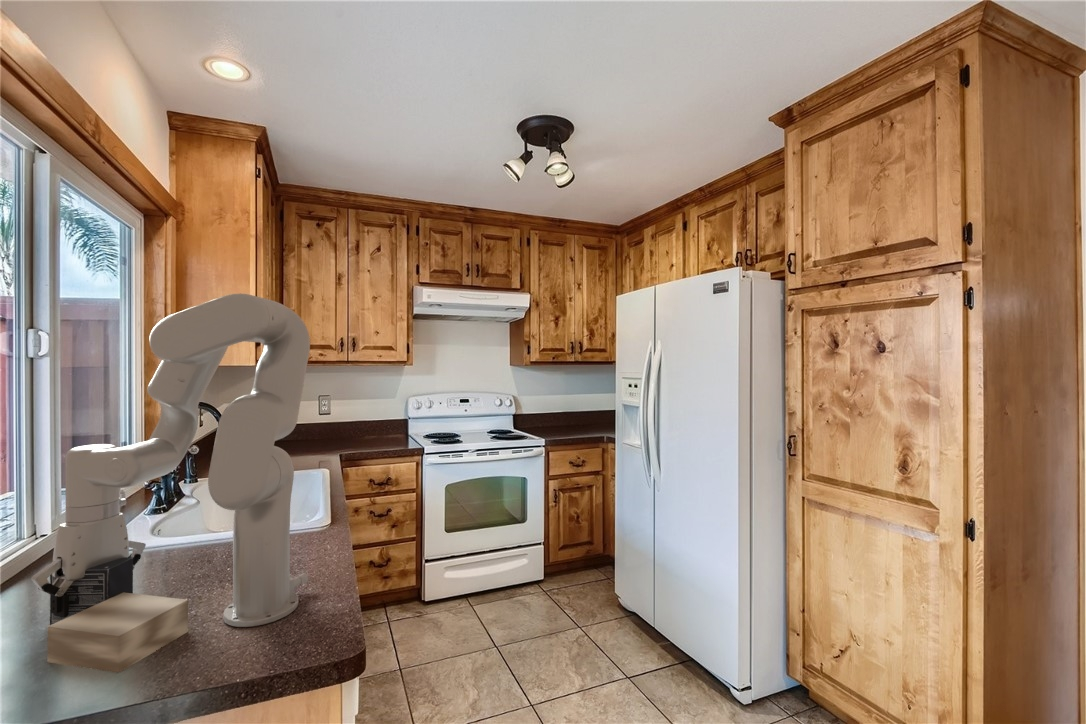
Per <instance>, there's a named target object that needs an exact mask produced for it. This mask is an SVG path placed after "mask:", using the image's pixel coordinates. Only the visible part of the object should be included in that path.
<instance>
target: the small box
mask: <svg viewBox="0 0 1086 724" xmlns="http://www.w3.org/2000/svg"><path fill="white" fill-rule="evenodd" d="M62 571H63V570H62V569H61V568H60V569H58V570H57V574H56V575H60V574H61V572H62ZM56 579H57V578H55V577H53V575H52V574H51V575H50V576H49V580H50V582H49V583H50V584H53V582H54V581H55V580H56ZM123 592H124V593H133V594H134V570H133V557H129V556H128V557H124V558H121V559H117V560H114V561H110V562H107V563H104V564H101V565H98V566H95V567H92V568H89V569H86V570H85V575H84V577H83V578H82V579H79V580H75V581H73V583H72V584H71V585H70V587H69V588H68V589H67V591H66V592H65V593H66V594H68V595H69V615H68V616H67V617H70V616H72V615H74V614H76V613H79V612H81V611H83V610H85V609H88V608H90V607H92V606H94V605H97V604H99V603H101V602H103V601H106V600H108V599H110V598H112V597H114V596H117V595H119V594H121V593H123ZM49 597H50V598H49V601H50V602H49V626H50V625H52V624H54V623H56V622H58V621H61V620H63V619H65V618H67V617H64V618H62V617H59V616H55V615H54V614H53V613H52V612H51V594H49Z"/></svg>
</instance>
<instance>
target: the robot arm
mask: <svg viewBox="0 0 1086 724" xmlns="http://www.w3.org/2000/svg"><path fill="white" fill-rule="evenodd" d="M308 330H309V329H308V328H307V325H306V324H305V322H304V321H303V319H302V318H301V317H300V315H299V314H297V313H296V312H295V311H294V310H292V308H290V307H287V306H286V305H285V304H282V303H280V302H278V301H276V300H272V299H269V298H265V297H261V296H256V295H252V294H248V293H231V294H226V295H223V296H220V297H218V298H214V299H211V300H209V301H206V302H203V303H201V304H198V305H195V306H192V307H189V308H186V309H183V310H181V311H178V312H176V313H172V314H169V315H168V316H166V317H164V318H162V319H161V320H160V321H159V322H157V323H156V324H155V326H154V327H153V328H152V330H151V331H150V334H149V341H148V342H149V347H150V351H151V352H152V353H153V355H154V356H155V357H156V358H158V359H159V360H161V362H159V363H160V364H159V365H158V367H157V368H156V370H155V373H154V374H153V376H152V378H151V380H150V381H149V383H148V385H147V388H146V391H147V395H148V396H149V397H150V399H151V398H152V399H153V400H154V401H155V402H157V403H158V404H159V406H160V417H159V420H158V421H157V424H156V426H155V428H154V429H153V431H152V433H151V435H150V437H149V439H148V440H145V441H139V442H137V443H133V444H128V445H124V446H120V447H118V446H116V445H114V444H111V443H97V444H96V443H94V444H87V445H80V446H75V447H72V448H70V449H68V451H67V452H66V453H65V454H66V455H65V522H63V523H60V524H59V526H58V530H57V532H56V537H55V541H54V546H53V553H52V562H51V563H49V564H47V565H46V566H45V567H43V568H42V569H40V570H39V571H38V572H36V573H35V574H33V575H32V576H31V578H30V580H31V581H32V583H34V585H35V586H36V587H37V588H38V590H39V591H42V592H44V593H45V594H46V593H47V594H48V595H50V594H51V612H52V613H53V614H54V615H55V616H59V617H62V618H64V617H67V616H68V615H69V595H68V594H66V593H65V592H66V591H67V589H68V588H69V587H70V585H71V584H72V583H73V581H75V580H79V579H82V578H83V577H84V575H85V570H86V569H89V568H92V567H95V566H98V565H101V564H104V563H107V562H110V561H114V560H117V559H121V558H124V557H133V571H134V570H135V568H136V567H135V566H136V565H137V563H138V562H139V561H140V560H141V559H142V554H143V553H144V550H145V548H146V546H147V545H146V543H145V542H141V541H135V540H134V541H133V540H129V533H128V527H127V523H126V520H125V516H124V513H123V512H121V508H122V507H123V506H126V505H127V501H128V500H127V499H126V498H121V497H120V496H121V495H120V493H121V492H120V491H121V490H120V488H121V489H125V488H127V489H128V488H133V487H136V486H138V485H139V486H140V485H141V484H144V483H147V482H149V481H153V480H155V479H158V478H160V477H164V476H165V475H168V474H170V473H171V472H173V471H174V470H175V469H176V468H177V467H178V466H179V465H180V464H181V462H182V460H183V459H184V458H185V456H186V454H187V452H188V450H189V448H190V446H191V445H192V443H193V441H194V438H195V436H196V434H197V430H198V424H199V416H200V415H199V413H200V412H199V404H200V402H201V399H202V398H203V396H204V394H205V392H206V390H207V388H208V386H209V384H210V382H211V381H212V379H213V376H214V375H215V374H216V371H217V370H218V368H219V366H220V364H221V361H222V360H223V359H224V357H225V354H226V352H227V350H228V348H229V347H230V346H233V345H235V344H239V343H242V342H248V343H260V344H262V345H263V351H262V353H261V356H260V357H259V360H258V361H257V364H256V368H255V373H254V374H255V375H254V380H253V385H252V388H251V391H250V393H247V394H243V395H241V396H239V397H237V398H235V399H234V400H233V401H231V402H230V403H229V404H227V406H226V407H225V409H224V410H223V412H222V414H221V416H220V418H219V420H218V424H217V428H216V429H217V430H216V432H215V433H216V434H215V438H214V445H213V450H212V453H211V460H210V466H209V470H208V475H207V488H208V492H209V495H210V497H211V499H212V500H213V502H214V503H215V504H216V505H218V506H219V507H220V508H222V509H224V510H228V511H234V514H233V521H232V522H233V526H232V527H233V528H232V529H233V533H232V603H230V604H229V605H227V607H226V608H225V609H224V610H223V613H222V615H223V616H222V617H223V622H224V623H225V624H227V625H229V626H232V627H237V628H248V627H249V628H251V627H257V626H258V627H259V626H262V625H267V624H270V623H273V622H276V621H278V620H280V619H283V618H285V617H287V616H288V615H290V614H291V613H292V612H294V611H295V610H296V609H297V607H298V606H299V596H298V595H297V593H296V592H295V590H296V589H297V588H298V586H301V585H303V584H305V583H307V582H308V581H309V575H308V573H306V572H302V573H301V574H299V575H297V576H295V577H294V576H293V575H292V574H290V570H291V569H290V567H291V566H290V565H291V562H290V561H291V559H290V557H291V556H290V555H291V554H290V553H291V549H290V548H291V547H290V543H291V541H290V539H291V537H290V535H291V534H290V533H291V532H290V531H291V530H290V529H291V528H290V527H291V503H292V501H291V500H292V492H293V484H294V479H295V478H294V475H295V468H294V463H293V460H292V457H291V455H290V454H289V453H288V452H287V451H286V450H284V449H283V448H281V447H279V446H276V445H275V442H277V441H279V440H281V439H284V438H285V437H287V436H289V435H291V433H292V432H293V431H294V429H296V428H295V427H297V422H298V419H299V413H300V407H301V400H302V397H303V396H302V395H303V389H304V386H305V379H306V378H305V376H306V371H307V368H308V367H307V366H308V361H309V357H310V351H311V350H310V349H311V337H310V333H309V331H308ZM130 548H131V549H132V551H131V552H132V553H130ZM129 553H130V554H129ZM60 568H61V569H62V570H63V571H62V572H61V574H60V575H56V574H57V570H58V569H60ZM51 574H52V575H53V577H55V578H57V579H56V580H55V581H54V582H53V584H50V582H49V580H48V579H49V578H50V575H51Z"/></svg>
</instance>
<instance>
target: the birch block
mask: <svg viewBox="0 0 1086 724" xmlns="http://www.w3.org/2000/svg"><path fill="white" fill-rule="evenodd" d="M46 629H47V631H46V632H47V633H46V635H47V637H46V639H47V641H46V642H47V644H46V645H47V648H46V649H47V651H46V652H47V657H46V658H47V659H46V661H47V663H51V664H57V665H63V666H70V667H76V668H77V667H78V668H83V667H85V668H86V669H89V668H92V669H91V670H96V669H97V671H104V672H109V671H110V673H115V672H116V673H115V674H119V672H120V673H121V672H123V671H124V670H127V669H128V668H130V667H132V666H133V665H134V664H136V663H138V662H140V661H141V660H143V659H144V658H146V657H149V656H150V655H151V654H153V653H155V652H157V651H159V650H161V647H162V648H163V647H165V646H167V645H168V644H170V643H171V642H173V641H175V640H177V639H178V638H180V637H181V636H183V635H185V634H186V633H188V632H189V599H187V598H176V597H168V596H159V595H158V596H157V595H150V594H140V593H134V592H133V593H124V592H123V593H121V594H119V595H117V596H114V597H112V598H110V599H108V600H106V601H103V602H101V603H99V604H97V605H94V606H92V607H90V608H88V609H85V610H83V611H81V612H79V613H76V614H74V615H72V616H70V617H67V618H65V619H63V620H61V621H58V622H56V623H54V624H52V625H50V624H49V625H48V626H46ZM156 650H157V651H156Z"/></svg>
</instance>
